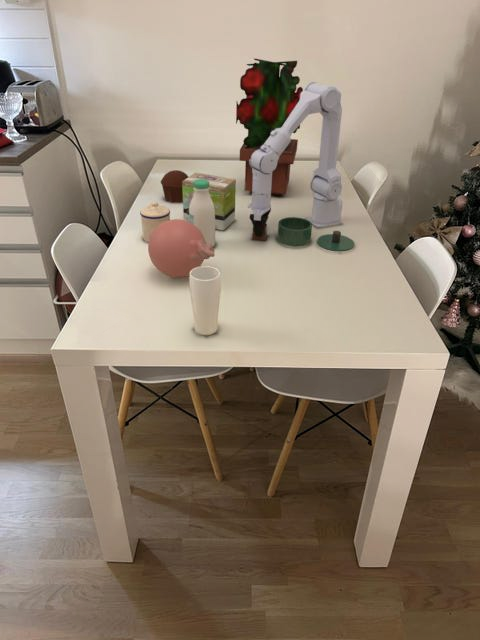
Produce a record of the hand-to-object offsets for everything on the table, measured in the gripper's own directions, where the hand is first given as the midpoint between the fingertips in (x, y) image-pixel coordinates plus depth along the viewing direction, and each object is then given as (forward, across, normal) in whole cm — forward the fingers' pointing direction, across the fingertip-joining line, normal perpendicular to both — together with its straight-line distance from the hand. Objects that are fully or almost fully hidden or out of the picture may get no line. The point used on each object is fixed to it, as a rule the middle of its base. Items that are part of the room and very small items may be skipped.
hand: (259, 233), depth 156 cm
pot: (+1, 0, +11) cm, 11 cm away
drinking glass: (+2, +53, -4) cm, 53 cm away
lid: (+1, 0, +24) cm, 24 cm away
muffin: (+2, -27, -35) cm, 45 cm away
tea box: (+2, -8, -18) cm, 20 cm away
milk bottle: (+2, +10, -16) cm, 19 cm away
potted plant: (+2, -44, -4) cm, 44 cm away
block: (+1, 0, 0) cm, 1 cm away
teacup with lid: (+2, +6, -32) cm, 32 cm away
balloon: (+2, +30, -16) cm, 34 cm away
